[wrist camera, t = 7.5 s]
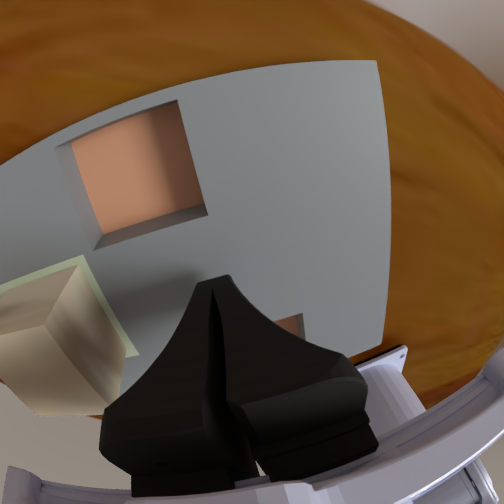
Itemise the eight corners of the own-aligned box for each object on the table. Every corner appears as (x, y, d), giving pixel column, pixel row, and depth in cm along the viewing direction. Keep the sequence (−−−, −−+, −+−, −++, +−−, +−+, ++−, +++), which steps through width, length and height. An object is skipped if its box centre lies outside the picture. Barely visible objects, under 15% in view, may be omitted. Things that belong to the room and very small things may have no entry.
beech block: (126, 347, 13) (116, 413, 9) (55, 360, 13) (37, 416, 9) (78, 263, 11) (43, 325, 7) (7, 289, 10) (-29, 341, 7)
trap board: (367, 324, 18) (381, 344, 17) (97, 393, 17) (93, 415, 15) (352, 65, 11) (376, 60, 9) (-25, 188, 9) (-46, 200, 8)
